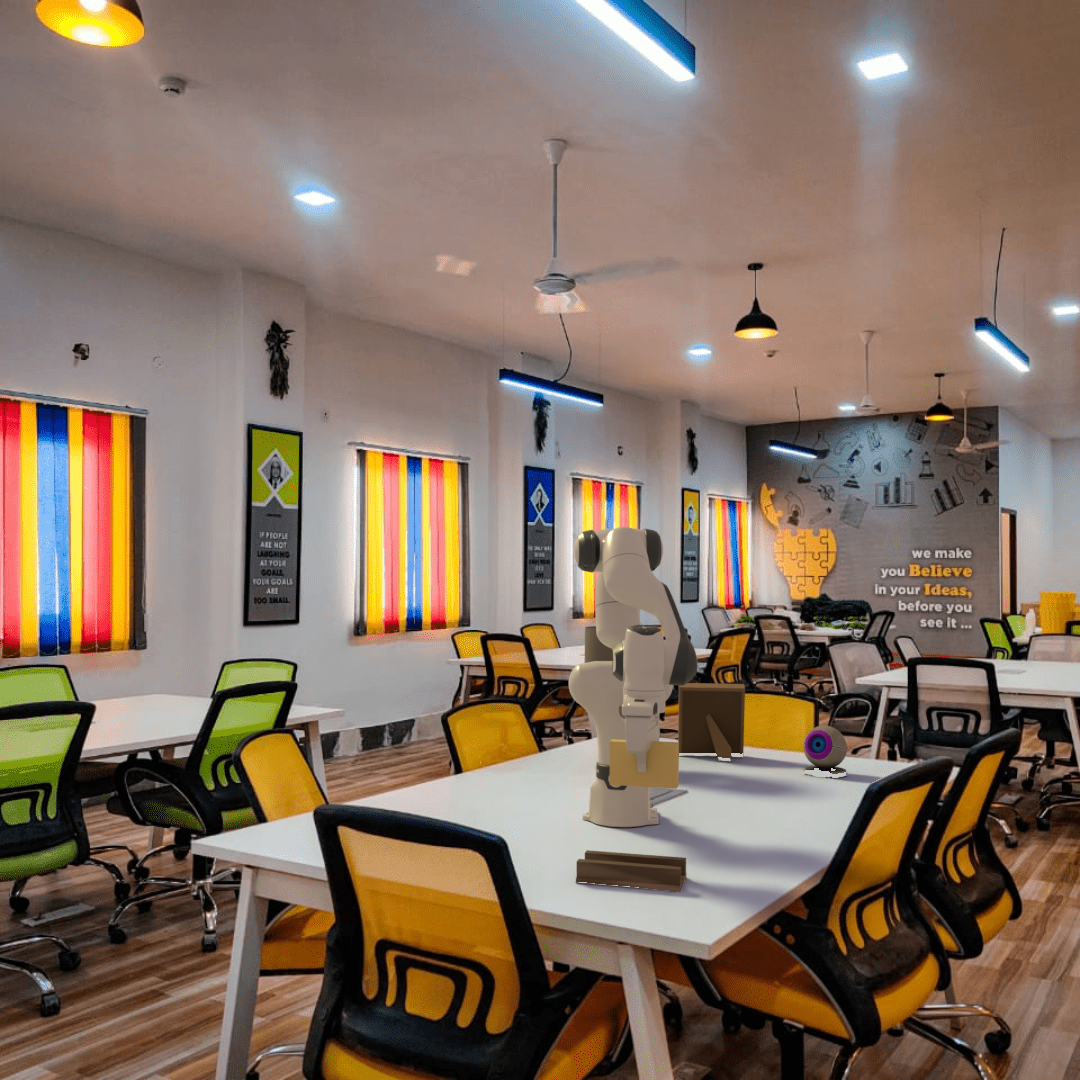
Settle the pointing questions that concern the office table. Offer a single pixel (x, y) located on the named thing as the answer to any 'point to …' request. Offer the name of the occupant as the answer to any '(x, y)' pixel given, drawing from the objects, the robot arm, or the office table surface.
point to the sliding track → (632, 870)
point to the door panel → (659, 765)
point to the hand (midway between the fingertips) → (644, 770)
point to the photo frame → (711, 718)
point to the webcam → (825, 749)
